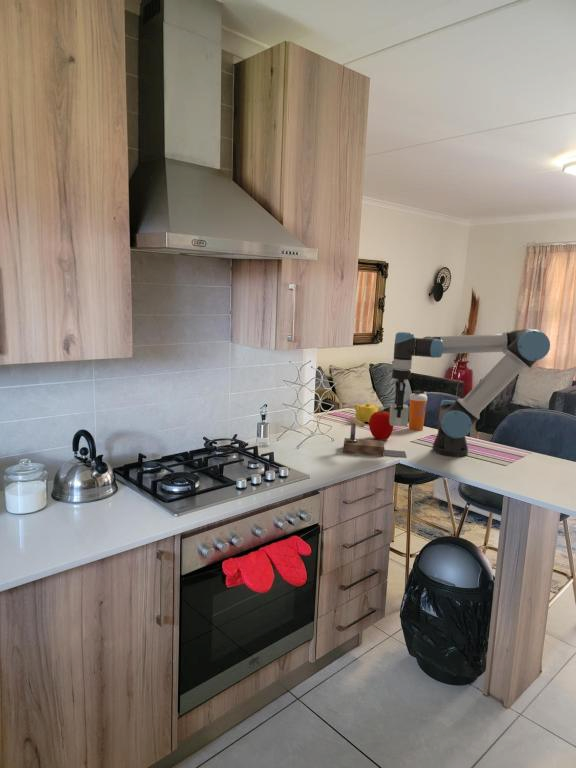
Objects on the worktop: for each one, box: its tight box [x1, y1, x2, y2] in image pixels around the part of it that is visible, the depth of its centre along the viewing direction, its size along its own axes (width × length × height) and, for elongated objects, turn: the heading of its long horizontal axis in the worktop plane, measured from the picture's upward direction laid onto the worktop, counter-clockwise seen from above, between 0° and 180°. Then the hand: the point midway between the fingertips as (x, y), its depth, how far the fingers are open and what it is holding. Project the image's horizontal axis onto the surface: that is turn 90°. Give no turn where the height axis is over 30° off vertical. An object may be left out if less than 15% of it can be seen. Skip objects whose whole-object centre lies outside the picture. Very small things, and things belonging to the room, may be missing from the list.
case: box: [343, 437, 385, 457], centre depth 229 cm, size 17×10×4 cm, turn 82°
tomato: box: [368, 409, 394, 441], centre depth 250 cm, size 13×11×14 cm
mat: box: [384, 449, 408, 459], centre depth 227 cm, size 9×9×1 cm
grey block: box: [389, 403, 410, 427], centre depth 225 cm, size 7×7×8 cm
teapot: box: [354, 402, 384, 424], centre depth 287 cm, size 14×13×10 cm
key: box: [347, 416, 366, 442], centre depth 225 cm, size 11×4×10 cm, turn 17°
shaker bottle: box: [408, 389, 428, 432], centre depth 274 cm, size 9×9×20 cm
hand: (397, 422), depth 225 cm, fingers closed on grey block, 7 cm apart
